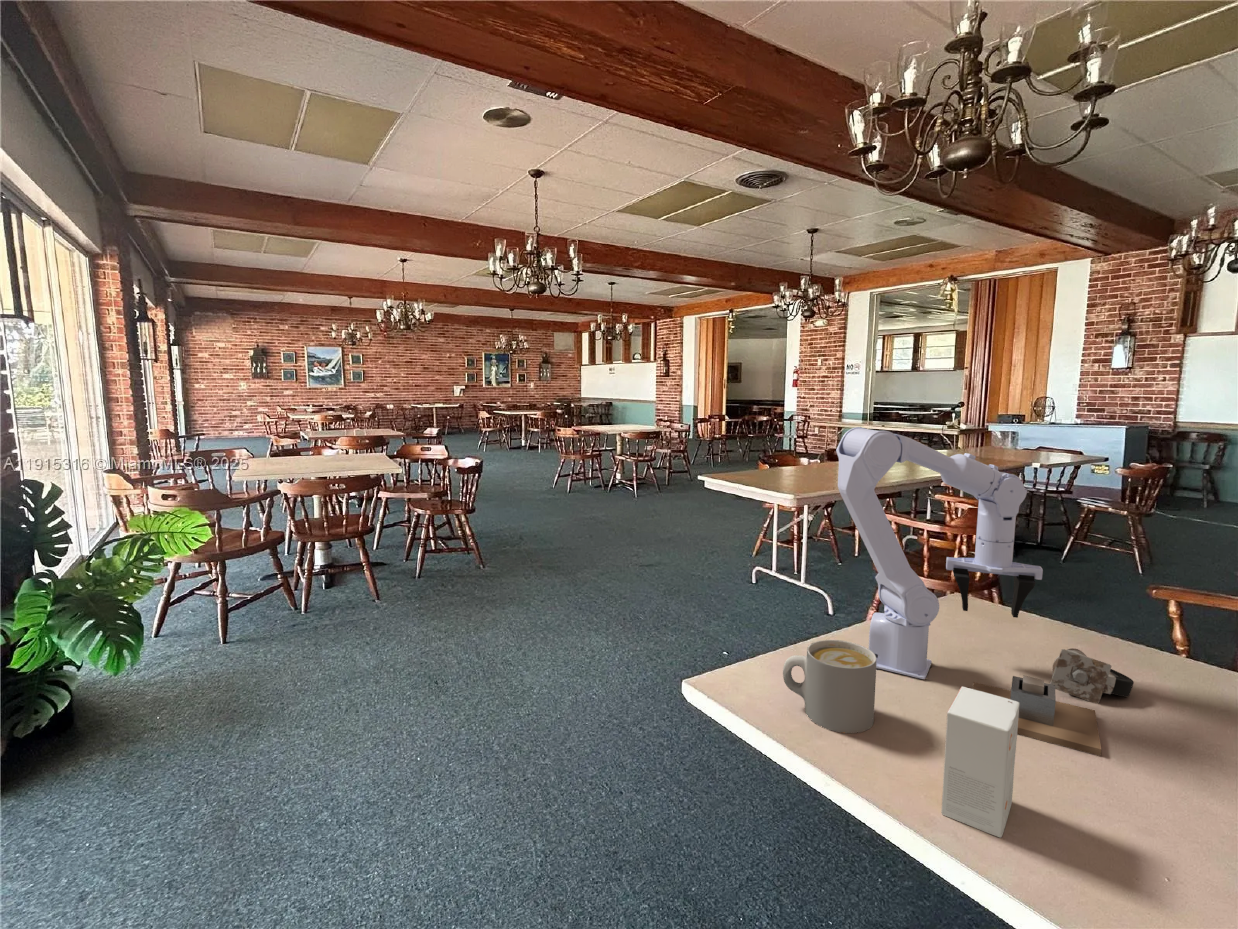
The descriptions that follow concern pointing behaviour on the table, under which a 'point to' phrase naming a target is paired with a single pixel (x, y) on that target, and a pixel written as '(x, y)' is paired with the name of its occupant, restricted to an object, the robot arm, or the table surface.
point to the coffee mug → (836, 684)
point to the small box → (980, 760)
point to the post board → (1056, 720)
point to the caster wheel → (1087, 677)
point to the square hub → (1034, 702)
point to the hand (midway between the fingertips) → (989, 612)
